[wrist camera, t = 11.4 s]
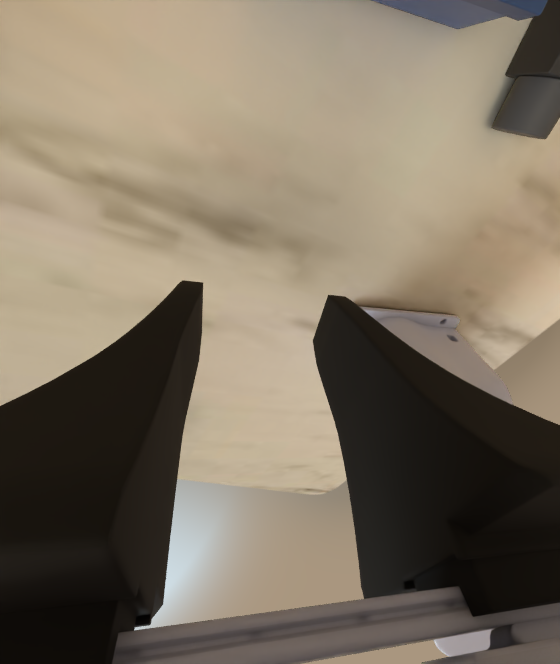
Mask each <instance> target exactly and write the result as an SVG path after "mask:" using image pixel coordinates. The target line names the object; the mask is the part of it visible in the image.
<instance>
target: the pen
mask: <svg viewBox="0 0 560 664" xmlns="http://www.w3.org/2000/svg"><path fill="white" fill-rule="evenodd" d="M506 76H508V77H511V78H514V79H516V81H515V83H514V84H513V86H512V88H511V90H510V92H509V94H508V96H507V98H506V100H505V102H504V104H503V106H502V108H501V109H500V111H499V113H498V115H497V117H496V119H495V121H494V123H493V125H492V128H493V129H496V130H499V131H503V132H507V133H512V134H516V135H521V136H526V137H532V138H538V139H546V138H547V137H548V135H549V134H550V132H551V131H552V129H553V127H554V126H555V124H556V123H557V121H558V119H559V118H560V0H548V1H547V3H546V5H545V7H544V9H543V11H542V13H541V14H540V15H539V16H535V17H534V18H533V20H532V22H531V24H530V26H529V28H528V30H527V32H526V34H525V36H524V38H523V40H522V42H521V44H520V46H519V48H518V50H517V52H516V54H515V56H514V58H513V60H512V62H511V64H510V66H509V68H508V70H507V72H506Z"/></svg>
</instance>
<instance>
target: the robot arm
mask: <svg viewBox="0 0 560 664" xmlns="http://www.w3.org/2000/svg"><path fill="white" fill-rule="evenodd" d="M202 304H203V283H202V282H192V281H181V282H180V283H179V284H178V285H177V286H176V287H175V288H174V289H173V291H172V292H171V293H170V294H169V295H168V296H167V297H166V298H165V299H164V300H163V301H162V302H161V303H160V304H159V305H158V306H157V307H156V308H155V309H154V310H153V311H152V312H151V313H150V314H149V315H147V316H146V317H145V318H144V319H143V320H142V321H141V322H139V323H138V324H137V325H136V326H135V327H133V328H132V329H131V330H130V331H129V332H127V333H126V334H125V335H124V336H122V337H121V338H120V339H118V340H117V341H116V342H114V343H113V344H111V345H110V346H109V347H107V348H106V349H104V350H103V351H101V352H100V353H98V354H97V355H95V356H94V357H92V358H90V359H89V360H87V361H85V362H83V363H82V364H80V365H78V366H76V367H75V368H73V369H71V370H69V371H68V372H66V373H64V374H63V375H61V376H59V377H57V378H56V379H54V380H52V381H50V382H48V383H46V384H44V385H42V386H40V387H38V388H36V389H34V390H32V391H30V392H29V393H27V394H25V395H22V396H20V397H18V398H16V399H14V400H12V401H10V402H8V403H6V404H4V405H1V406H0V664H301V663H306V662H312V661H317V660H323V659H328V658H334V657H340V656H345V655H351V654H357V653H362V652H368V651H373V650H379V649H385V648H390V647H396V646H401V645H407V644H412V643H418V642H423V641H428V640H433V641H434V642H435V644H436V646H437V648H438V649H439V650H440V651H441V652H443V653H444V654H446V655H447V656H449V657H446V658H441V659H436V660H432V661H427V662H422V663H421V664H560V425H558V424H555V423H553V422H550V421H548V420H545V419H543V418H541V417H538V416H536V415H534V414H532V413H529V412H527V411H525V410H523V409H521V408H518V407H516V406H514V405H513V403H512V399H511V395H510V393H509V391H508V388H507V387H506V385H505V383H504V382H503V380H502V379H501V378H500V377H499V376H498V375H497V374H496V372H495V371H494V370H493V369H492V368H491V367H490V366H489V365H488V364H487V363H486V362H485V361H484V360H483V358H482V357H481V356H480V355H479V354H478V353H477V352H476V351H475V350H474V349H473V348H472V347H471V346H470V344H469V343H468V342H467V341H466V340H465V339H464V338H463V337H462V336H461V335H460V334H459V333H458V332H457V331H456V329H455V328H456V327H457V325H458V324H459V322H460V319H459V318H458V317H457V316H456V315H447V314H436V313H425V312H415V311H404V310H393V309H382V308H371V307H360V306H358V305H356V304H355V303H354V302H352V301H351V300H350V299H348V298H346V297H344V296H334V295H328V297H327V300H326V303H325V306H324V309H323V312H322V315H321V318H320V321H319V324H318V327H317V330H316V333H315V336H314V339H313V344H314V351H315V357H316V363H317V367H318V371H319V374H320V377H321V380H322V383H323V387H324V390H325V393H326V396H327V399H328V402H329V405H330V408H331V411H332V415H333V418H334V421H335V424H336V428H337V432H338V436H339V441H340V446H341V451H342V455H343V460H344V466H345V471H346V477H347V482H348V488H349V493H350V501H351V506H352V514H353V520H354V527H355V535H356V543H357V552H358V560H359V569H360V579H361V588H362V591H363V595H364V599H361V600H353V601H347V602H340V603H332V604H324V605H318V606H310V607H302V608H295V609H288V610H281V611H274V612H266V613H259V614H251V615H245V616H237V617H230V618H223V619H215V620H208V621H201V622H194V623H187V624H179V625H171V626H164V627H157V628H150V629H142V630H135V631H134V628H135V627H139V626H147V625H150V624H151V619H152V618H153V616H154V615H155V614H156V613H157V612H158V610H159V609H160V608H161V606H162V605H163V599H164V589H165V580H166V570H167V562H168V552H169V543H170V533H171V526H172V517H173V508H174V500H175V491H176V483H177V475H178V467H179V459H180V451H181V443H182V435H183V430H184V424H185V419H186V415H187V410H188V406H189V402H190V397H191V393H192V389H193V384H194V380H195V375H196V371H197V367H198V362H199V355H200V345H201V336H202Z"/></svg>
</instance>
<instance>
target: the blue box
mask: <svg viewBox="0 0 560 664" xmlns="http://www.w3.org/2000/svg"><path fill="white" fill-rule="evenodd" d="M372 1H375V2H378V3H381V4H384V5H387V6H390V7H393V8H396V9H399V10H402V11H405V12H408V13H411V14H414V15H417V16H420V17H423V18H426V19H429V20H432V21H435V22H438V23H441V24H444V25H447V26H450V27H453V28H456V29H461V28H464V27H468V26H471V25H475V24H479V23H482V22H486V21H490V20H493V19H497V18H501V17H504V16H507V17H510V18H512V19H515V20H518V21H519V20H523V19H527V18H531V17H535V16H539V15H540V14H541V13H542V11H543V9H544V7H545V5H546V3H547V1H548V0H372Z"/></svg>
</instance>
